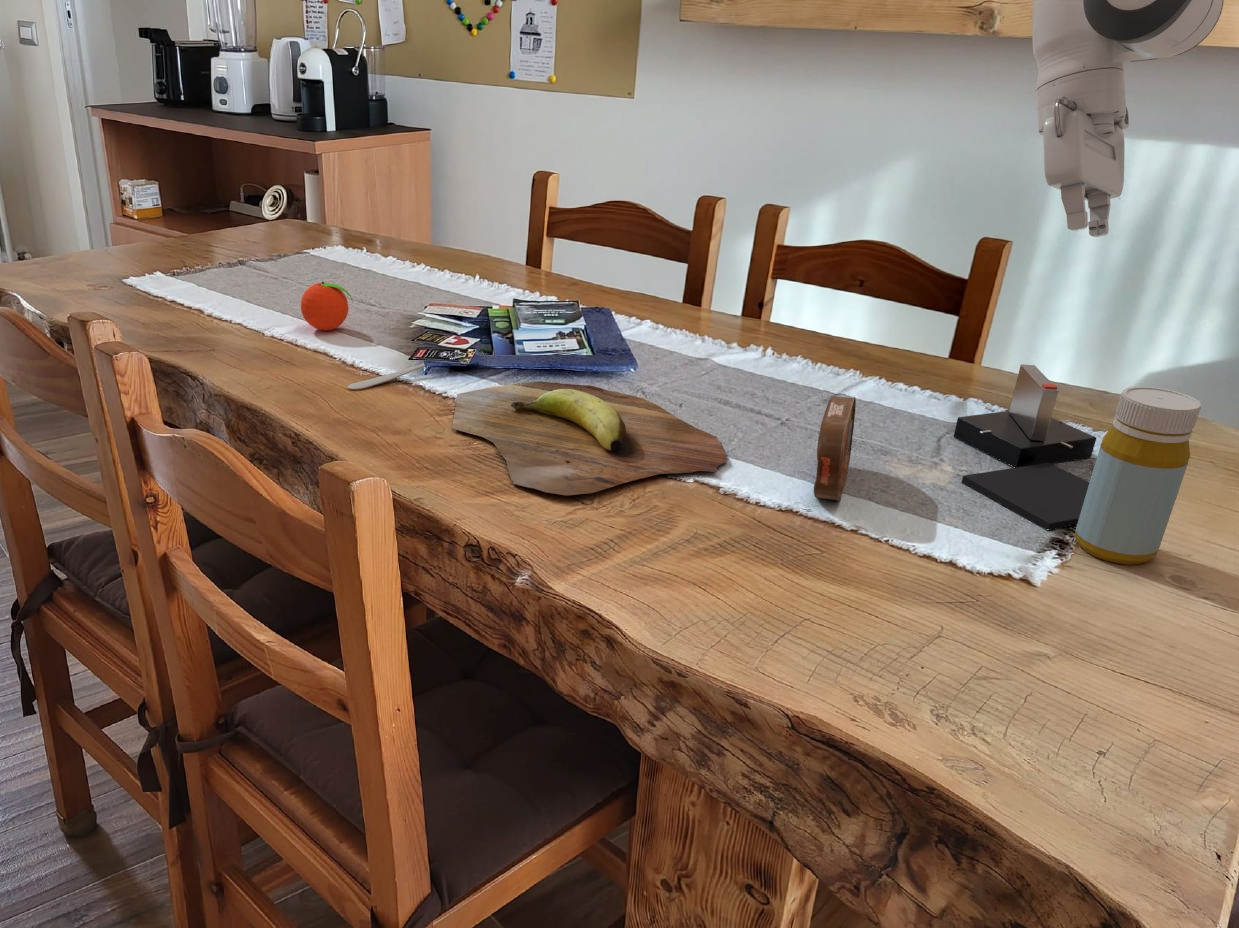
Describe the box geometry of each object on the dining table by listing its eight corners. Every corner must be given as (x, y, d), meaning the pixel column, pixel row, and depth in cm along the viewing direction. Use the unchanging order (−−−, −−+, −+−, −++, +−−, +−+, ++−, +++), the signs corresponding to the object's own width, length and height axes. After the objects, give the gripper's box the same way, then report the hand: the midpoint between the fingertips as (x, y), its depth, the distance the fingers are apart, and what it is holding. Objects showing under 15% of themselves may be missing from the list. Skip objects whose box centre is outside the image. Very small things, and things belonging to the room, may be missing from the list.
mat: (1047, 469, 114) (1049, 462, 114) (1138, 514, 104) (1141, 507, 104) (961, 482, 110) (962, 475, 110) (1047, 530, 100) (1049, 523, 100)
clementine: (363, 326, 156) (360, 278, 153) (346, 338, 150) (344, 289, 147) (312, 321, 157) (309, 274, 154) (294, 334, 151) (291, 285, 148)
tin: (836, 514, 102) (851, 435, 98) (804, 509, 103) (817, 430, 99) (850, 460, 115) (863, 388, 111) (821, 455, 116) (833, 383, 112)
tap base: (1022, 421, 128) (1027, 401, 126) (1109, 462, 117) (1116, 440, 116) (936, 433, 123) (941, 412, 122) (1019, 476, 112) (1025, 453, 111)
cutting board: (765, 466, 113) (770, 433, 111) (548, 514, 100) (550, 477, 98) (593, 373, 139) (595, 345, 138) (405, 401, 127) (405, 371, 125)
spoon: (491, 366, 141) (491, 354, 140) (355, 393, 129) (355, 381, 128) (473, 358, 143) (473, 347, 143) (340, 384, 132) (339, 372, 131)
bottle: (1057, 533, 100) (1100, 385, 93) (1125, 531, 101) (1172, 384, 94) (1100, 568, 94) (1149, 412, 87) (1171, 566, 95) (1225, 411, 88)
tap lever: (1008, 412, 123) (1021, 362, 120) (1022, 413, 123) (1035, 363, 120) (1030, 440, 115) (1044, 386, 112) (1045, 441, 115) (1059, 388, 112)
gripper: (1088, 83, 107) (1096, 218, 108) (1132, 115, 123) (1139, 233, 124) (1023, 101, 112) (1032, 231, 113) (1073, 130, 127) (1081, 244, 128)
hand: (1088, 233), depth 118 cm, fingers open, 8 cm apart
